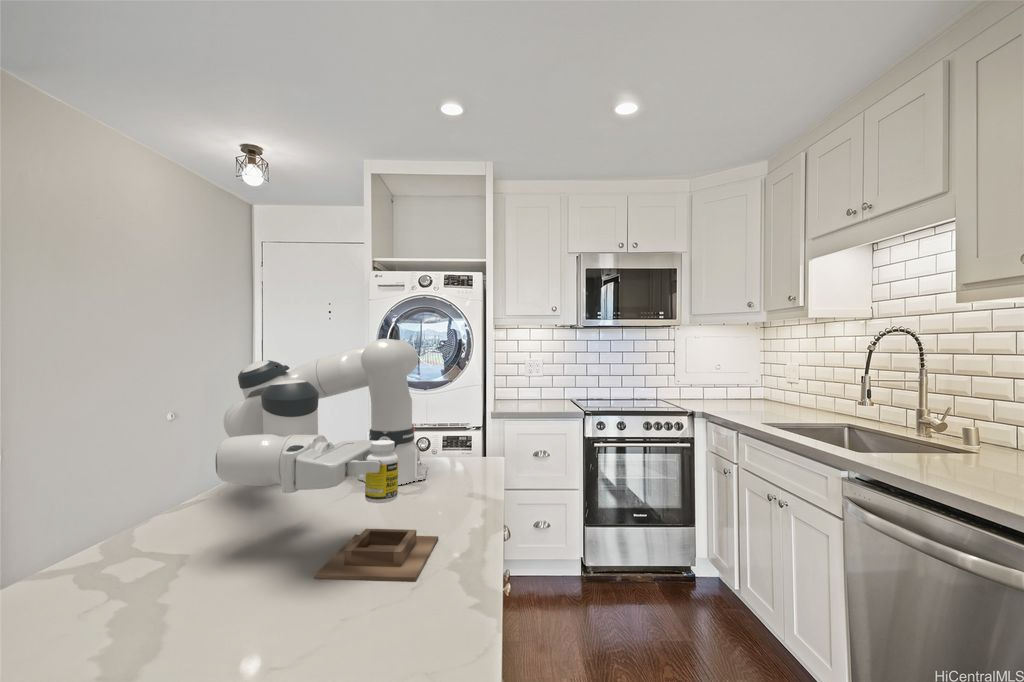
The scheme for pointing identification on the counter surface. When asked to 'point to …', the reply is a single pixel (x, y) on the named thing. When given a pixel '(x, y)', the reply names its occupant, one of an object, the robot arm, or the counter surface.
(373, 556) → the walnut can holder
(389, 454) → the supplement bottle
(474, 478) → the counter surface
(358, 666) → the counter surface
